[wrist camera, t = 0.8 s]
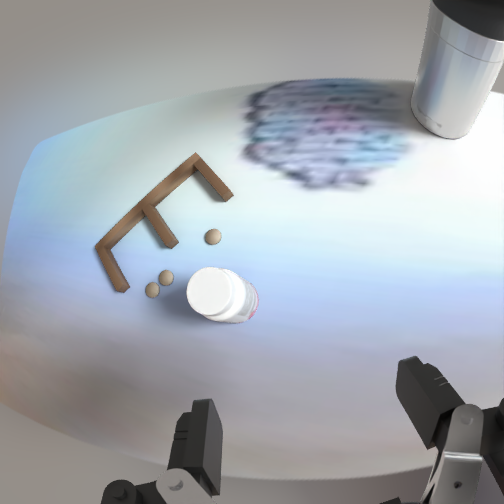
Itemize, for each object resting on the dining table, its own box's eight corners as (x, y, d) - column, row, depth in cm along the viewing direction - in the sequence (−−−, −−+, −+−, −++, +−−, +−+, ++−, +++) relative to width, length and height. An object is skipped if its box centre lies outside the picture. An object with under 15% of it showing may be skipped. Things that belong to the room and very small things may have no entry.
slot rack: (200, 158, 39) (195, 152, 37) (251, 214, 35) (248, 210, 33) (101, 249, 39) (94, 246, 38) (136, 314, 35) (129, 313, 34)
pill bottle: (246, 270, 33) (220, 251, 25) (267, 309, 32) (247, 301, 24) (209, 293, 34) (173, 280, 26) (228, 331, 32) (197, 330, 24)
